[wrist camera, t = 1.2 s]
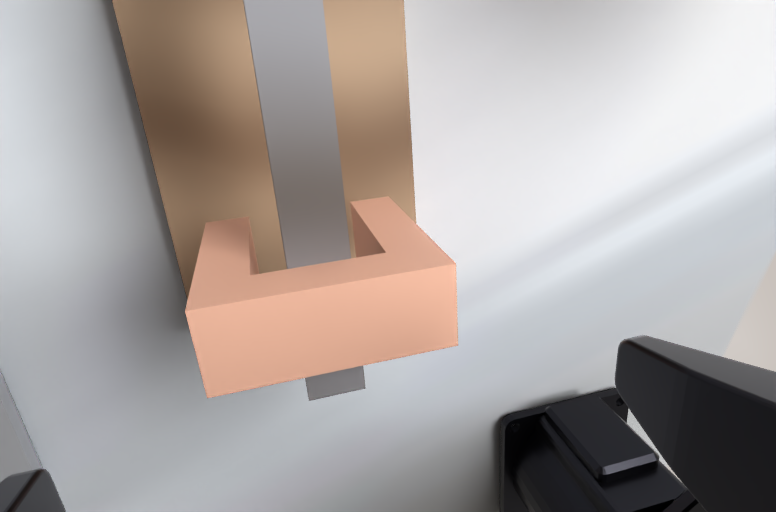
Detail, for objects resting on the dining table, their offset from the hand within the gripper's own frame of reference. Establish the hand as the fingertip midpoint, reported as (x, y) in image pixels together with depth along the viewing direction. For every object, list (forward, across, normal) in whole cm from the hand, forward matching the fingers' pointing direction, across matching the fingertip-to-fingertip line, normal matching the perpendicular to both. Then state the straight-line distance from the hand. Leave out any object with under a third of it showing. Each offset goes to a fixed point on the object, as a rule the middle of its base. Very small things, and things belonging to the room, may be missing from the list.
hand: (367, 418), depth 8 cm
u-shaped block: (+8, 0, 0) cm, 8 cm away
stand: (+11, 0, -3) cm, 11 cm away
